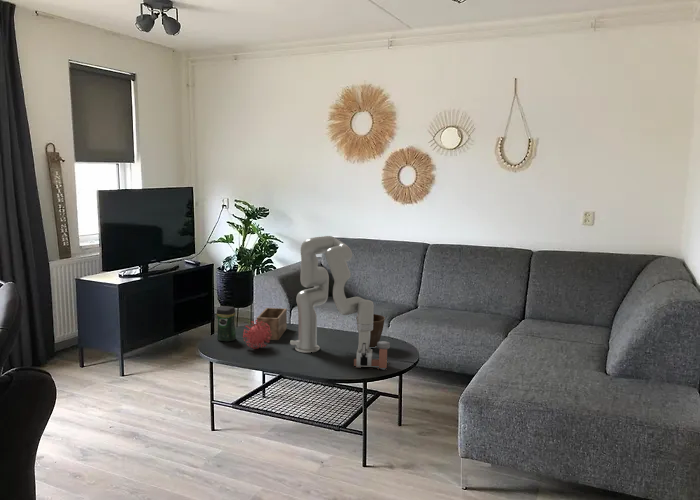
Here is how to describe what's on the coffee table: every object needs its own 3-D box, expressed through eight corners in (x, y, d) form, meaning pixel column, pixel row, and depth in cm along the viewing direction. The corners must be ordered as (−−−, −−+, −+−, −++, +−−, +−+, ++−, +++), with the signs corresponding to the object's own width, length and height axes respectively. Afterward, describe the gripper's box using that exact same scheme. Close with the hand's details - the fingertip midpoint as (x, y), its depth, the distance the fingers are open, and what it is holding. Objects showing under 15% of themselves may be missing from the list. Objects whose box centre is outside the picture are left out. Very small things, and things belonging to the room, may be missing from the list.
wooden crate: (256, 339, 310) (256, 317, 308) (266, 327, 332) (266, 307, 330) (278, 340, 309) (278, 318, 307) (286, 328, 331) (286, 308, 329)
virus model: (275, 344, 301) (274, 317, 299) (266, 353, 286) (266, 325, 284) (248, 343, 303) (247, 315, 301) (238, 351, 289) (238, 323, 286)
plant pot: (387, 350, 294) (388, 320, 292) (359, 352, 291) (359, 322, 289) (379, 342, 308) (380, 313, 306) (353, 343, 305) (353, 314, 303)
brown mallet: (353, 368, 267) (353, 344, 265) (354, 363, 274) (355, 339, 272) (389, 370, 266) (389, 345, 264) (389, 365, 273) (390, 341, 271)
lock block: (356, 366, 267) (356, 352, 266) (357, 362, 274) (357, 348, 273) (371, 367, 267) (371, 353, 266) (371, 362, 273) (372, 348, 272)
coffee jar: (238, 338, 311) (237, 305, 308) (230, 342, 303) (230, 308, 300) (222, 336, 313) (221, 303, 311) (214, 340, 306) (214, 307, 303)
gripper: (358, 320, 276) (357, 356, 279) (355, 331, 259) (354, 368, 262) (373, 321, 276) (373, 356, 278) (372, 331, 258) (371, 369, 261)
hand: (364, 362), depth 270 cm, fingers closed on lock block, 6 cm apart
